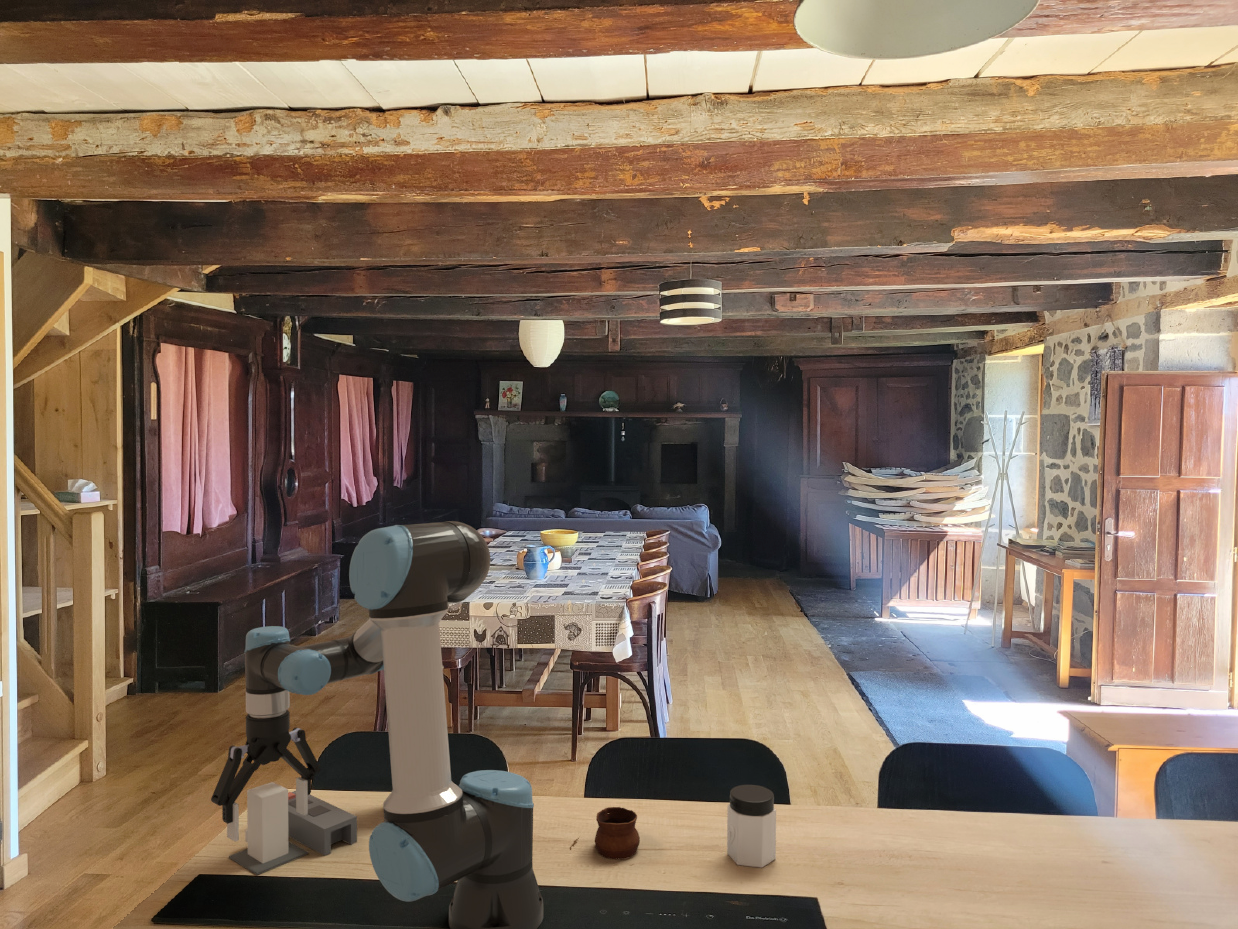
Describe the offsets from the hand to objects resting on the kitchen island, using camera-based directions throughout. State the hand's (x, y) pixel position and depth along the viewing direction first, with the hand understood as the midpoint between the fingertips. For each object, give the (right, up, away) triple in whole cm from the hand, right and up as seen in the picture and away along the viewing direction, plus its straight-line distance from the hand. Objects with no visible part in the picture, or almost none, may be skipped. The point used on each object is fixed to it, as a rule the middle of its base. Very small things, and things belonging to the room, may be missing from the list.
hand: (268, 825), depth 158 cm
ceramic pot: (+65, -7, +4) cm, 65 cm away
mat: (0, -6, 0) cm, 6 cm away
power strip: (+5, -5, +9) cm, 12 cm away
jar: (+90, -6, +1) cm, 90 cm away
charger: (-1, -5, +1) cm, 6 cm away
